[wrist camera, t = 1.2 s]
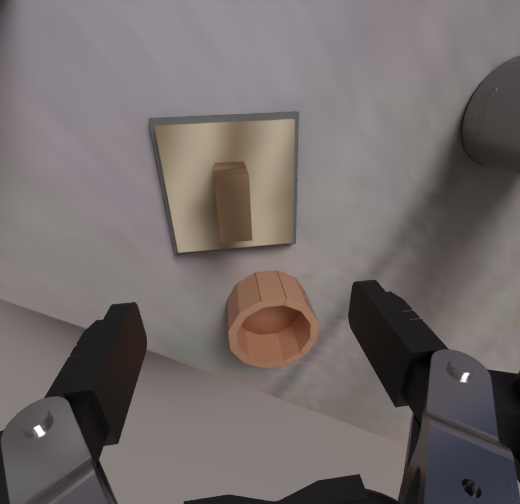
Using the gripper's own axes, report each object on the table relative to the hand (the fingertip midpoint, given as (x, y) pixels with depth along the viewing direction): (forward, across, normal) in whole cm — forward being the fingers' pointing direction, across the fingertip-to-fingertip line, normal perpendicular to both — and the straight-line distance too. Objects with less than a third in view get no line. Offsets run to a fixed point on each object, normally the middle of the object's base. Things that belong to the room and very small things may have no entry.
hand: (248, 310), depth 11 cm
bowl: (+18, -3, +14) cm, 23 cm away
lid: (+17, 0, 0) cm, 17 cm away
